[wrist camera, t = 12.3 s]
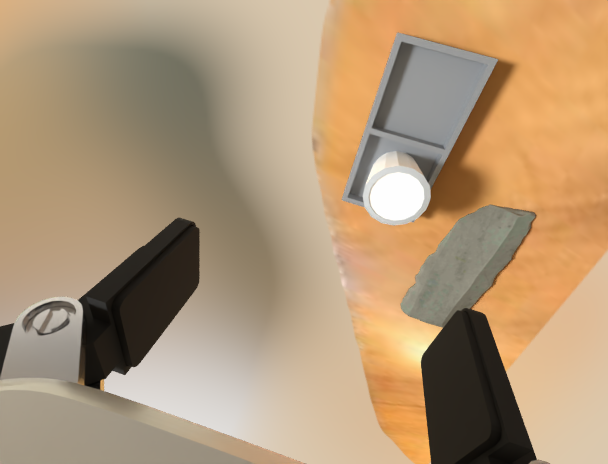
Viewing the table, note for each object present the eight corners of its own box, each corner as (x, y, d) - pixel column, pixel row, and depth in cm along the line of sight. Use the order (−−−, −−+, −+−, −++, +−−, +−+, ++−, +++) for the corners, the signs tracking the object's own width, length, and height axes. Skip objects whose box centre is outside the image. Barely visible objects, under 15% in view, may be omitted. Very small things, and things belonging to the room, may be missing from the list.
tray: (343, 192, 41) (341, 200, 39) (396, 32, 30) (397, 32, 28) (412, 213, 40) (413, 222, 38) (490, 58, 30) (498, 59, 28)
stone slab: (397, 301, 52) (455, 326, 50) (395, 313, 49) (457, 338, 47) (462, 186, 39) (543, 213, 37) (464, 194, 37) (550, 223, 35)
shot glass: (397, 133, 35) (400, 151, 29) (436, 173, 36) (446, 199, 30) (354, 173, 38) (349, 196, 32) (391, 208, 40) (392, 236, 34)
